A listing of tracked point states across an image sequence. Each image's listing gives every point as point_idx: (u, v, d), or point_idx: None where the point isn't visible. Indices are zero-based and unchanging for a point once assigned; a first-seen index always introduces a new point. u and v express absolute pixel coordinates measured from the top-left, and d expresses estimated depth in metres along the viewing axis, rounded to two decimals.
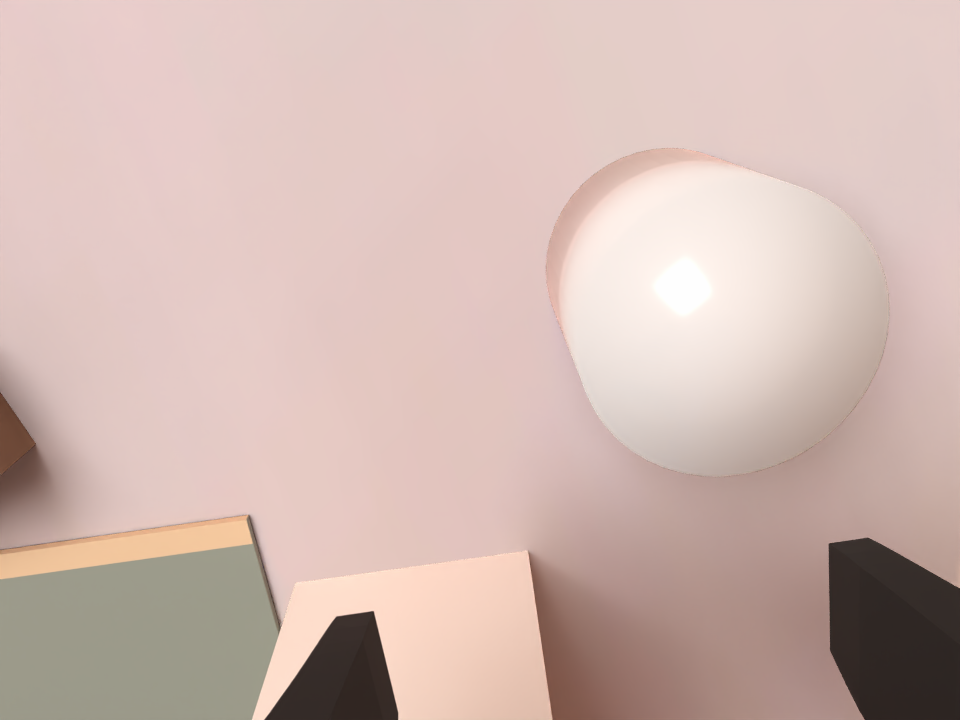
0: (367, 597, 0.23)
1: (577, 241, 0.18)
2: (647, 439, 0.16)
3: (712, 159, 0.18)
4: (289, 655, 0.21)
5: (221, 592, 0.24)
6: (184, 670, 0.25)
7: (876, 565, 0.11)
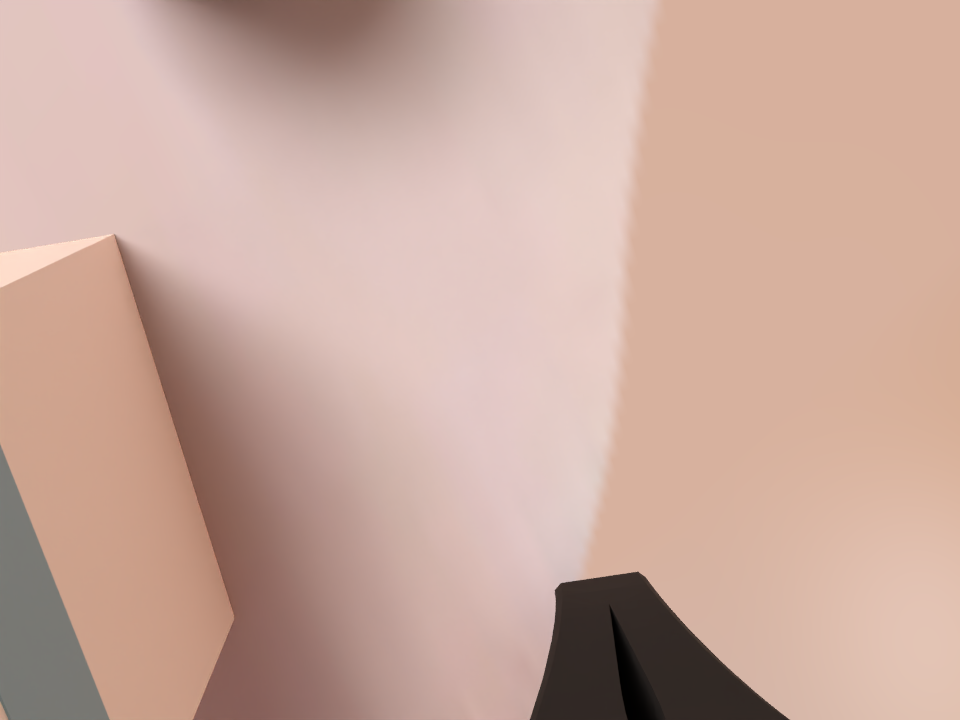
0: None
1: None
2: None
3: None
4: None
5: None
6: None
7: (624, 602, 0.11)
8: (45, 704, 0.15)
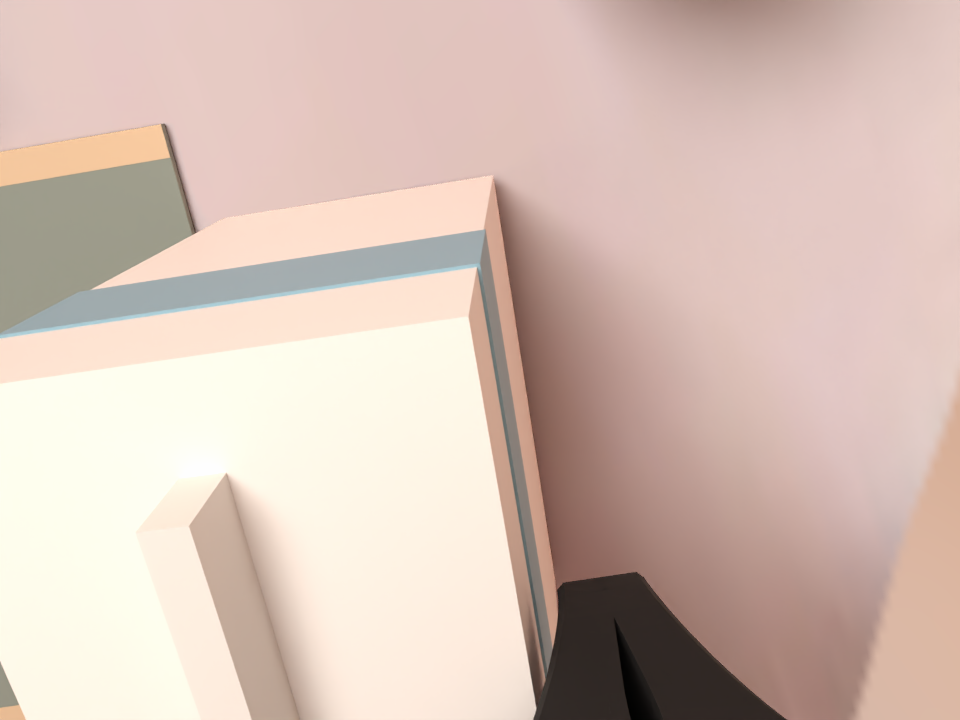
0: (298, 213, 0.19)
1: None
2: None
3: None
4: (193, 241, 0.18)
5: (136, 225, 0.21)
6: None
7: (622, 603, 0.11)
8: (547, 647, 0.14)
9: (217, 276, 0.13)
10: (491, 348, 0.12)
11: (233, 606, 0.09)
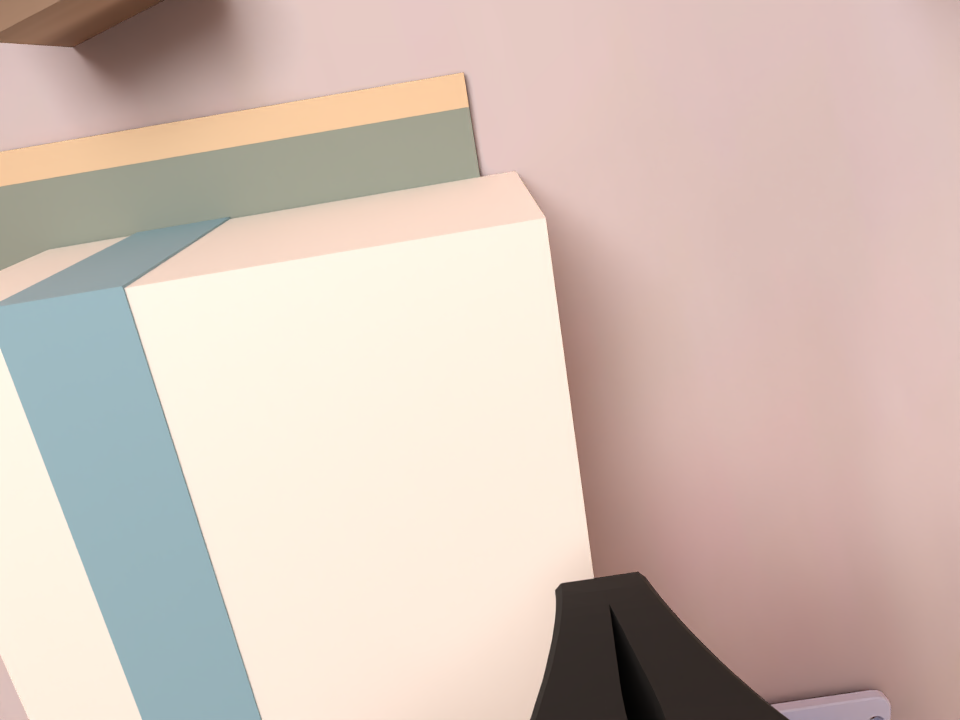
0: (466, 192, 0.18)
1: None
2: None
3: None
4: (383, 195, 0.20)
5: (427, 176, 0.20)
6: None
7: (624, 602, 0.11)
8: (158, 643, 0.16)
9: (175, 240, 0.18)
10: (11, 375, 0.14)
11: None
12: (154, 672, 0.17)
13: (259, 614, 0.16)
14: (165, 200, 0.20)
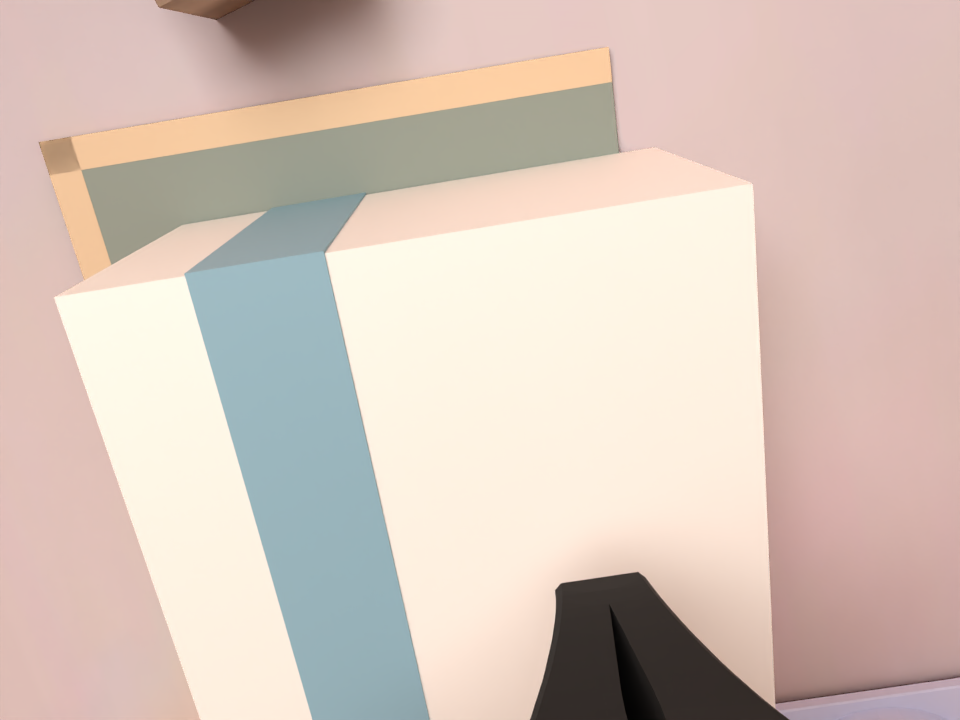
0: (622, 166, 0.18)
1: None
2: None
3: None
4: (524, 170, 0.20)
5: (565, 152, 0.20)
6: None
7: (624, 602, 0.11)
8: (328, 616, 0.16)
9: (330, 213, 0.18)
10: (203, 341, 0.14)
11: None
12: (321, 645, 0.16)
13: (431, 587, 0.16)
14: (301, 176, 0.20)
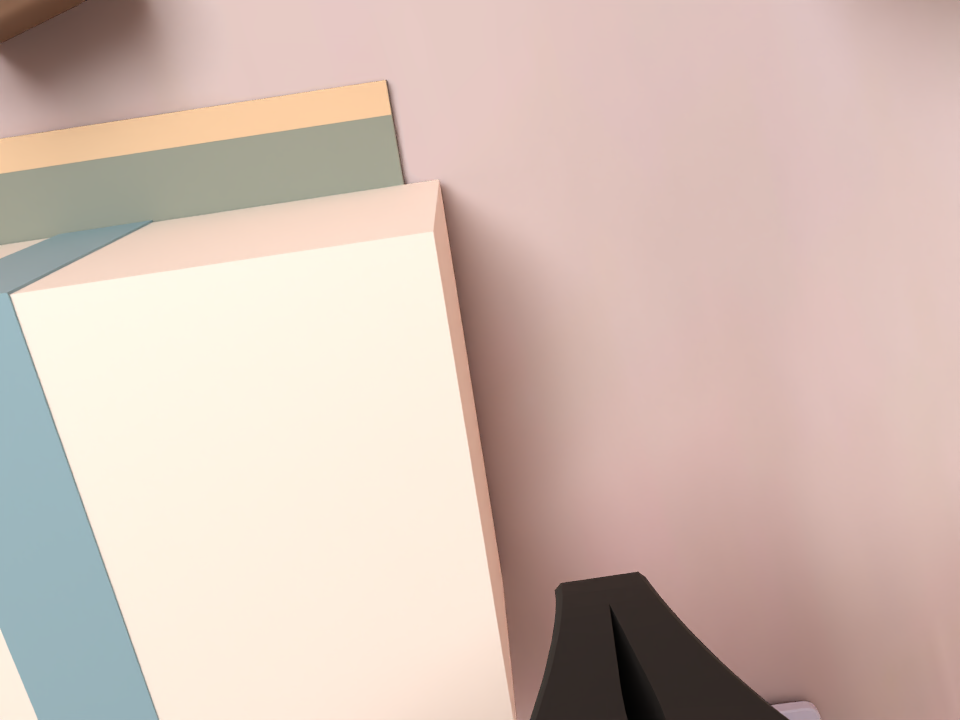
0: (381, 201, 0.18)
1: None
2: None
3: None
4: (305, 201, 0.20)
5: (350, 183, 0.20)
6: None
7: (624, 602, 0.11)
8: (54, 649, 0.16)
9: (87, 244, 0.18)
10: None
11: None
12: (51, 678, 0.16)
13: (156, 622, 0.16)
14: (87, 203, 0.20)
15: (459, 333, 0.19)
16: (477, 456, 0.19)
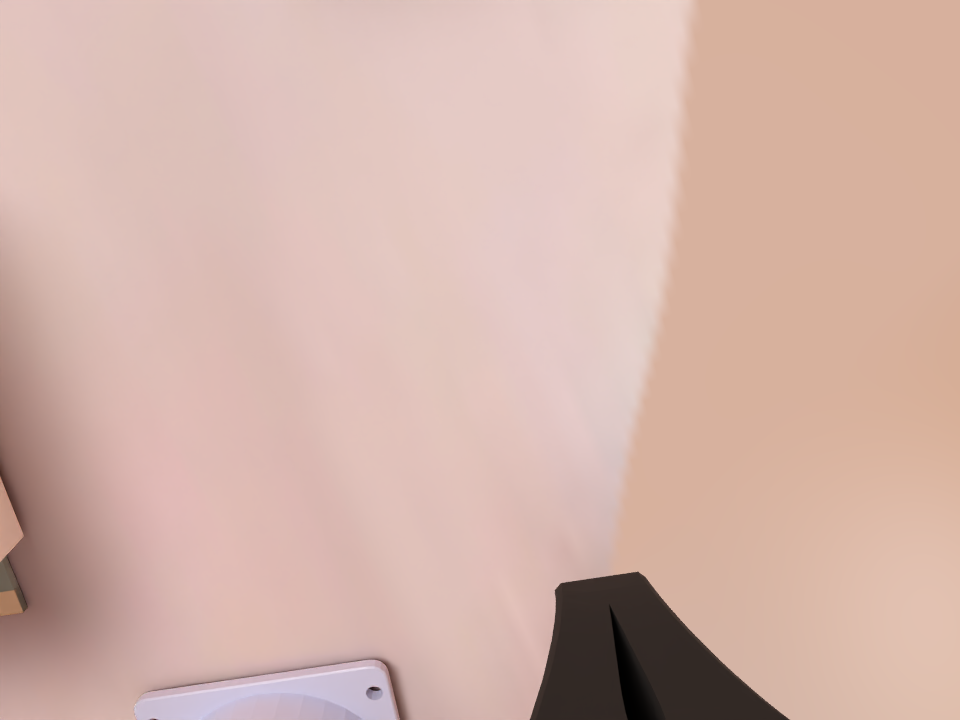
0: None
1: None
2: None
3: None
4: None
5: None
6: None
7: (624, 602, 0.11)
8: None
9: None
10: None
11: None
12: None
13: None
14: None
15: None
16: None
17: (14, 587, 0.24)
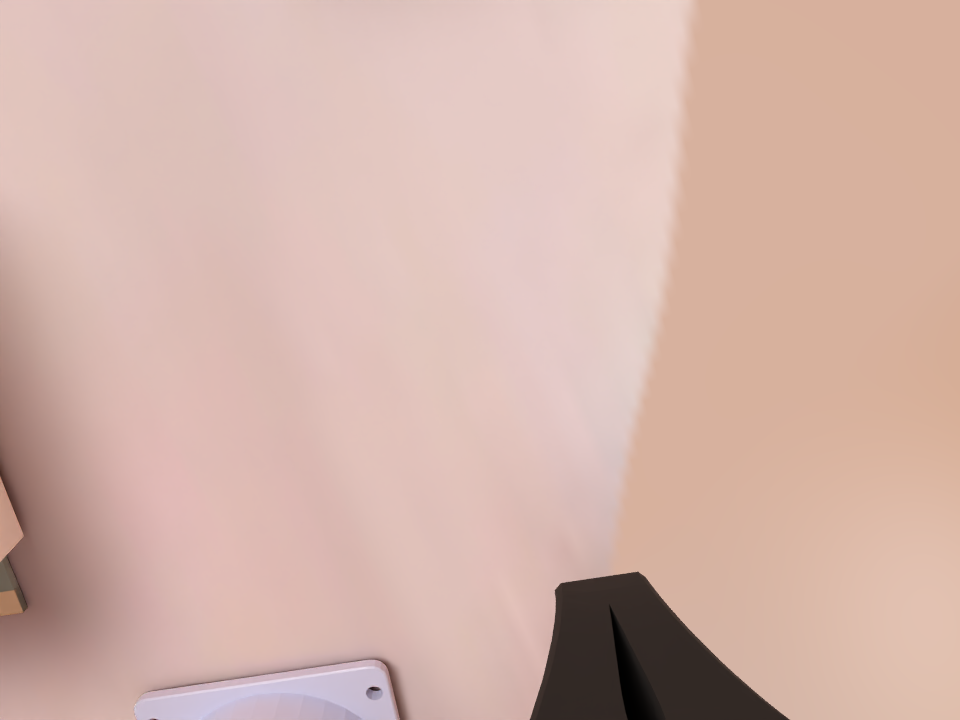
0: None
1: None
2: None
3: None
4: None
5: None
6: None
7: (624, 602, 0.11)
8: None
9: None
10: None
11: None
12: None
13: None
14: None
15: None
16: None
17: (14, 587, 0.24)
